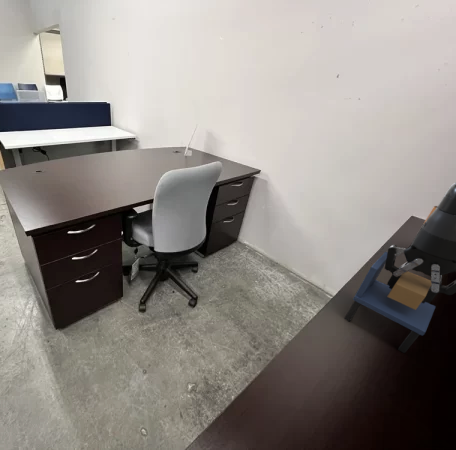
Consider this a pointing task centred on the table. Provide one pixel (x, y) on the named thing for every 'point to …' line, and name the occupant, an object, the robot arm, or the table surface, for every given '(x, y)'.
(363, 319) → the table surface
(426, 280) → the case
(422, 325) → the chair
